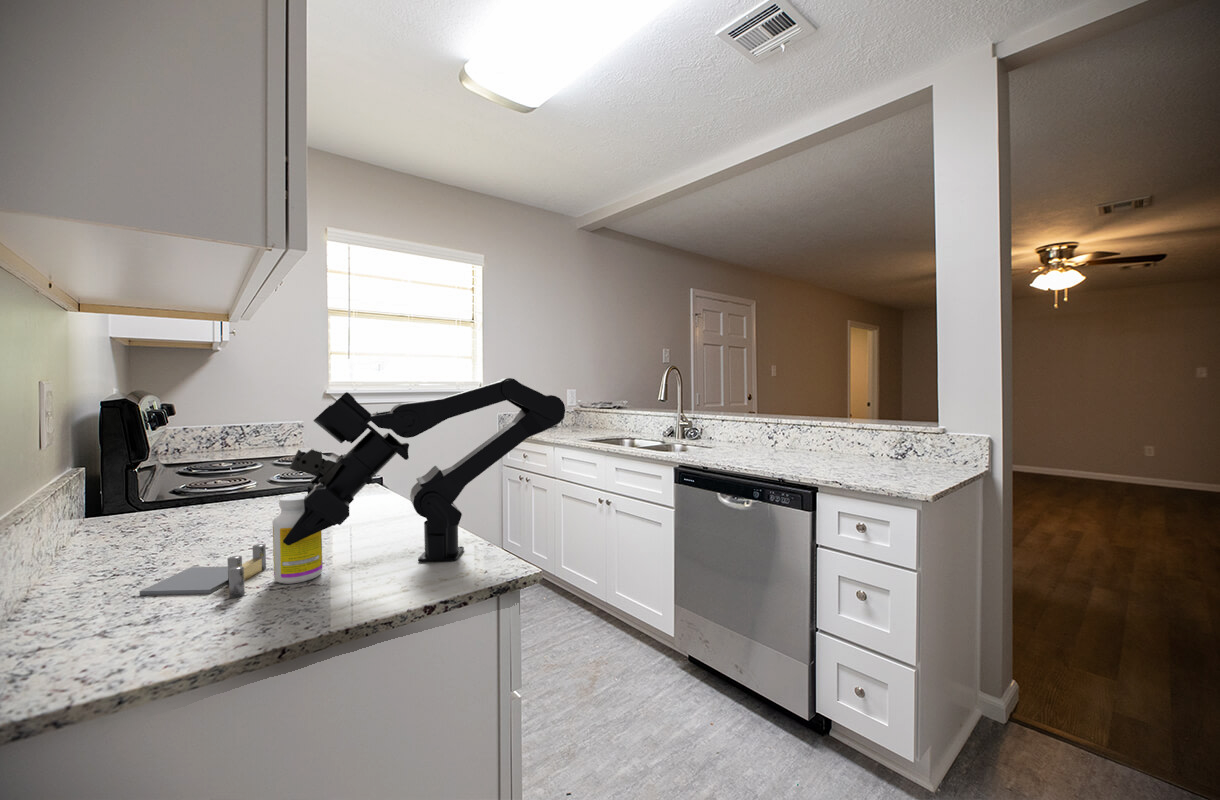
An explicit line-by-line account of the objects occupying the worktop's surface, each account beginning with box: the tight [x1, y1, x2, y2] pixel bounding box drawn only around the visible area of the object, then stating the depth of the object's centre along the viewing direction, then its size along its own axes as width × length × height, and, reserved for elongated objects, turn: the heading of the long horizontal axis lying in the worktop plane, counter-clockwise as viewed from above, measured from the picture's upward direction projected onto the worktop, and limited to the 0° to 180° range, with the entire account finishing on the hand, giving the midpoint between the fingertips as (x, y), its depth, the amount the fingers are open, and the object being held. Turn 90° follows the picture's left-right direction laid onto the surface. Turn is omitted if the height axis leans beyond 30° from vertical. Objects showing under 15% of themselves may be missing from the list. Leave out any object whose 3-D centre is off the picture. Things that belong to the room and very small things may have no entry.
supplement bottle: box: [272, 493, 323, 585], centre depth 83 cm, size 7×7×13 cm
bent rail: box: [227, 543, 267, 599], centre depth 81 cm, size 13×5×4 cm, turn 2°
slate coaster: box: [138, 565, 228, 596], centre depth 82 cm, size 10×10×1 cm
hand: (287, 537), depth 82 cm, fingers open, 7 cm apart
